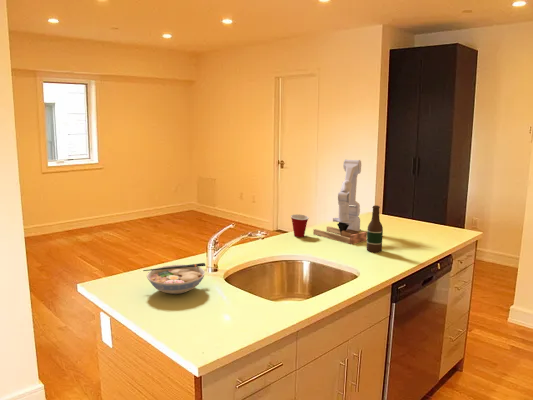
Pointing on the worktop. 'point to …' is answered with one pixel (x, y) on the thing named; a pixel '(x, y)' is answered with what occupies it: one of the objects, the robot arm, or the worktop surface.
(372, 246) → the beer bottle
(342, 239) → the bay
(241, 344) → the worktop surface
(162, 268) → the ramen bowl
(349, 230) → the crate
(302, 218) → the plastic cup
